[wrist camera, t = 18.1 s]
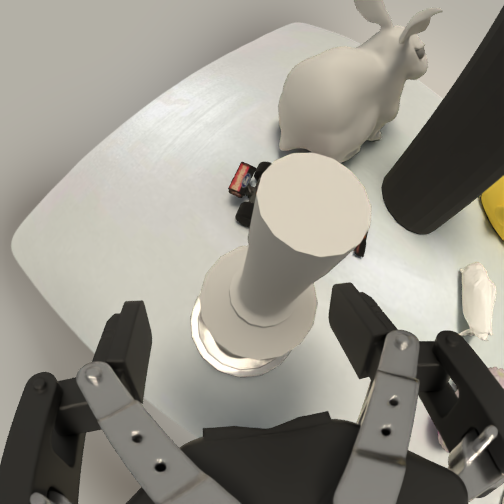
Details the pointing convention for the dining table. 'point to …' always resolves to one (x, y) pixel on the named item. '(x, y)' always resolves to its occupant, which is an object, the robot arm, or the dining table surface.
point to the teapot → (495, 205)
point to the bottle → (284, 256)
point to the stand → (220, 359)
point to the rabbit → (352, 87)
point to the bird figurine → (477, 300)
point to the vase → (454, 145)
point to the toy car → (243, 188)
